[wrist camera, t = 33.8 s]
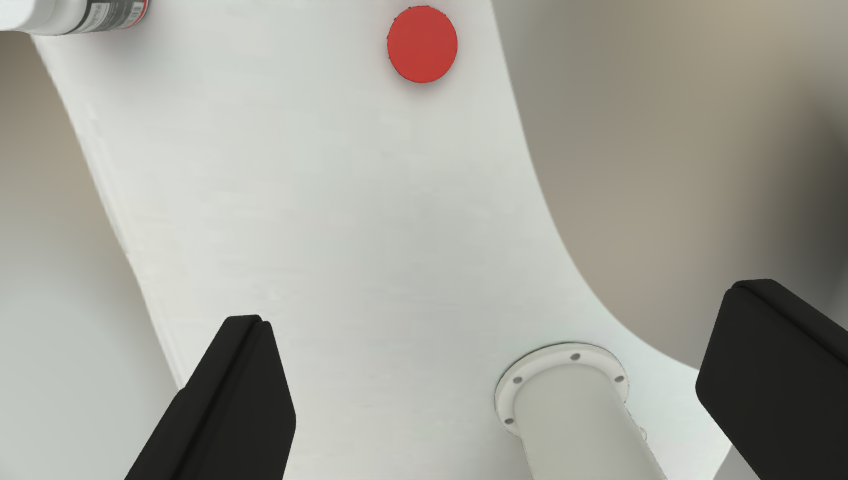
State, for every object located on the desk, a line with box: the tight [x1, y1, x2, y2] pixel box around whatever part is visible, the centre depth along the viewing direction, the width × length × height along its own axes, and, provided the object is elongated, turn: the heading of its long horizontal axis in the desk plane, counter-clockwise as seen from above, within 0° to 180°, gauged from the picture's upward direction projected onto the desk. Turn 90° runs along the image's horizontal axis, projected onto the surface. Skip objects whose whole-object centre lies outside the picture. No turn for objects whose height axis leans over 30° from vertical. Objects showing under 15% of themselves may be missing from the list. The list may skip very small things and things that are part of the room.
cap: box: [387, 6, 457, 83], centre depth 25 cm, size 4×4×2 cm
